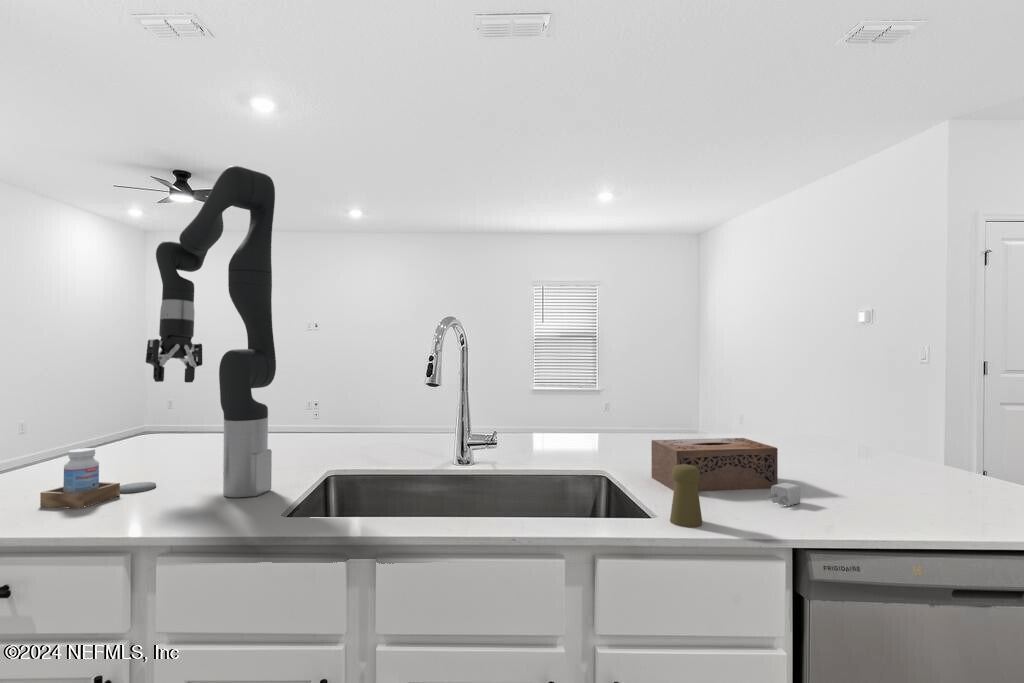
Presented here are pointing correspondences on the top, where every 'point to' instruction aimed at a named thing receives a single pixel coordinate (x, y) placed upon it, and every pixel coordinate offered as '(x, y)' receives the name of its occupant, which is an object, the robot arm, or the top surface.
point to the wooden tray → (79, 496)
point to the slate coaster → (136, 487)
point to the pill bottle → (81, 471)
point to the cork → (686, 497)
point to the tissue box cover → (717, 463)
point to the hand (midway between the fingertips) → (174, 382)
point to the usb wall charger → (785, 494)
